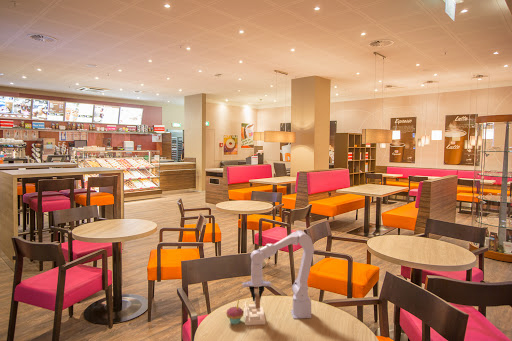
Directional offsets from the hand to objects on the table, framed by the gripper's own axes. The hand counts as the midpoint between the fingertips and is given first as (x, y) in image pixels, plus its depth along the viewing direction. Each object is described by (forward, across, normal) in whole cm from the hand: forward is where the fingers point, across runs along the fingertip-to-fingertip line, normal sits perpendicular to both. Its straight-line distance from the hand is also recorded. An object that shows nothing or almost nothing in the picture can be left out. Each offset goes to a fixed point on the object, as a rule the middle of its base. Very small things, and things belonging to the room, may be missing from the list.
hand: (256, 300), depth 160 cm
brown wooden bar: (+2, 0, 0) cm, 2 cm away
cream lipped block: (+10, +1, 0) cm, 10 cm away
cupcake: (+10, +11, +2) cm, 15 cm away
